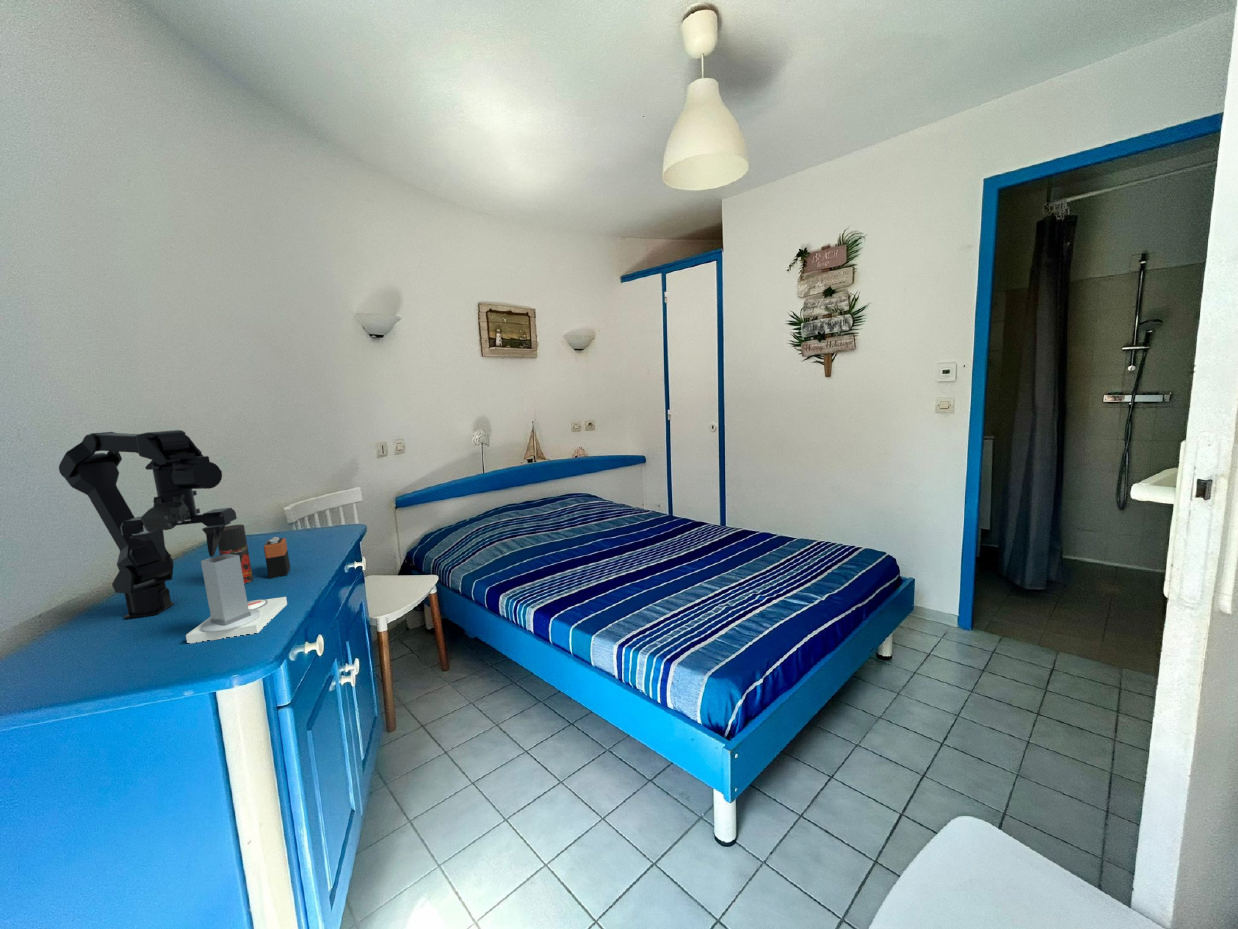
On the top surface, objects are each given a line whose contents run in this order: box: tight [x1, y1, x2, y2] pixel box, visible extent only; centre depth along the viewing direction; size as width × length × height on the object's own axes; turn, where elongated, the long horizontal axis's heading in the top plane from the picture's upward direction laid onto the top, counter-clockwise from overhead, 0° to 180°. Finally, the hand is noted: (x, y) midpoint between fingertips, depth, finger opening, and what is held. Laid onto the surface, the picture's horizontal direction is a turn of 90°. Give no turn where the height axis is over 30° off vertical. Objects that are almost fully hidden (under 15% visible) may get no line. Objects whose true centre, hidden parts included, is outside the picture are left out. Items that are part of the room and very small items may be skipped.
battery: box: [263, 536, 291, 579], centre depth 136 cm, size 4×7×10 cm, turn 27°
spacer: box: [200, 554, 251, 626], centre depth 101 cm, size 5×5×13 cm
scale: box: [185, 596, 288, 644], centre depth 105 cm, size 12×16×2 cm
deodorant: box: [217, 524, 254, 585], centre depth 130 cm, size 6×6×15 cm
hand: (187, 559), depth 109 cm, fingers open, 9 cm apart
